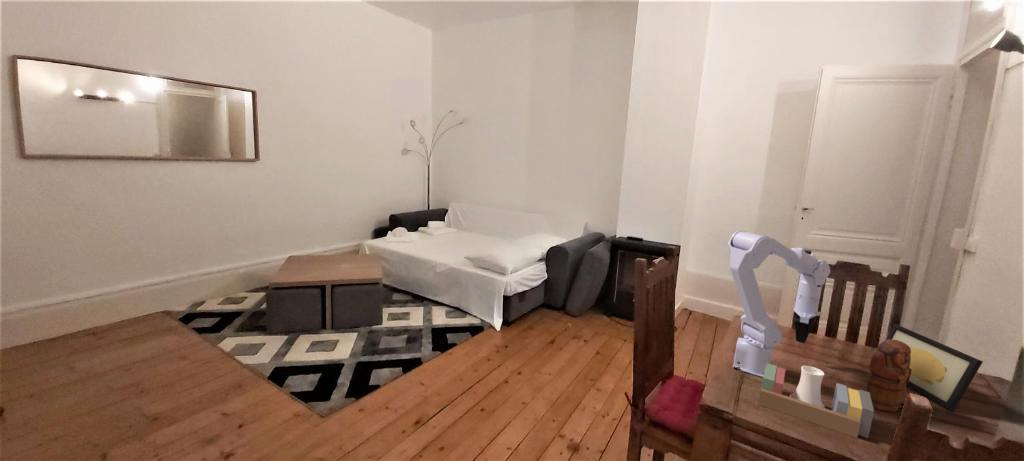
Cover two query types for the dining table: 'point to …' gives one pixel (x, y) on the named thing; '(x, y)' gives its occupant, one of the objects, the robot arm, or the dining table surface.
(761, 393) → the book row
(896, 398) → the wooden figurine
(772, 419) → the dining table surface
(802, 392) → the vase
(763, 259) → the robot arm
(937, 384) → the picture frame
